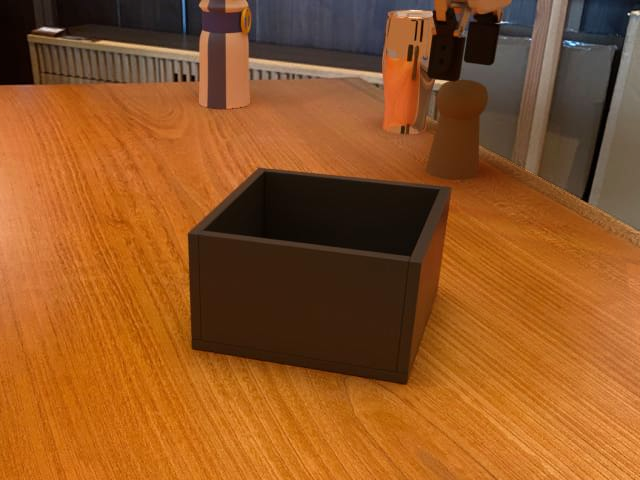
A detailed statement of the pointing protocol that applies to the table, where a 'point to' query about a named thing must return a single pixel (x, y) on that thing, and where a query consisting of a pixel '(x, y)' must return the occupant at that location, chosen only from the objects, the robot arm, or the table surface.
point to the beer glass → (407, 71)
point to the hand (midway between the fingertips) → (461, 71)
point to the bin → (319, 271)
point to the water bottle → (224, 54)
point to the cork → (457, 130)
